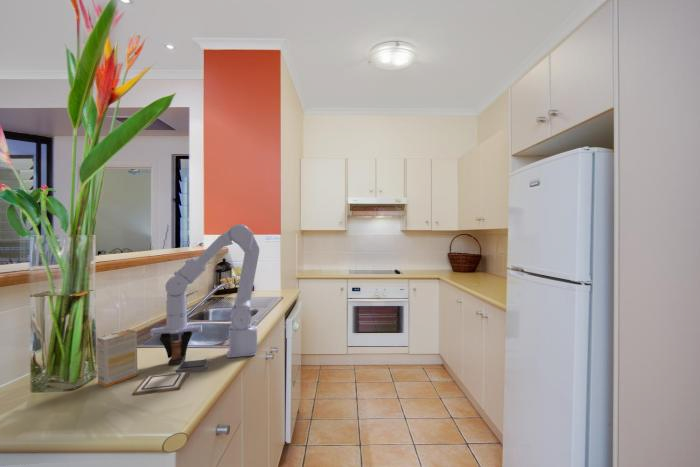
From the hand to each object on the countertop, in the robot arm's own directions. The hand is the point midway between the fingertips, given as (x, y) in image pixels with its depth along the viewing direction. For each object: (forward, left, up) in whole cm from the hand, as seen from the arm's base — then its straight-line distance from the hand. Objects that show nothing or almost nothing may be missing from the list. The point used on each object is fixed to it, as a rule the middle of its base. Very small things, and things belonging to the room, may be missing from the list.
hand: (177, 356), depth 103 cm
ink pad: (-6, +6, -2) cm, 9 cm away
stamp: (0, 0, -2) cm, 2 cm away
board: (0, +15, -2) cm, 15 cm away
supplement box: (+13, +9, -2) cm, 16 cm away
